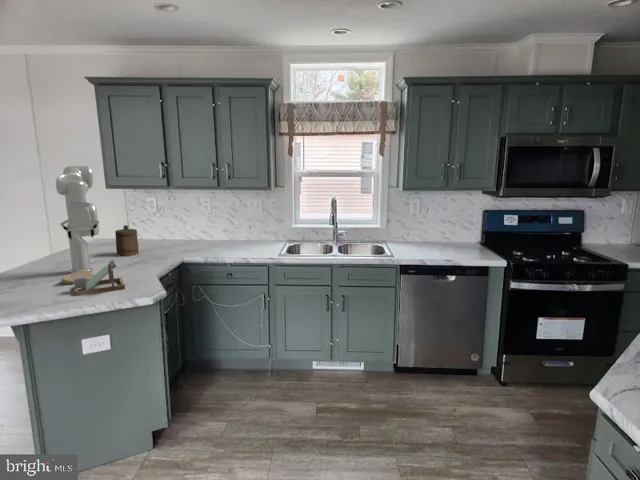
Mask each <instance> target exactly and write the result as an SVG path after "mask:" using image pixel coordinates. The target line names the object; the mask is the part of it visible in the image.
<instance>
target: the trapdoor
mask: <svg viewBox="0 0 640 480" xmlns="http://www.w3.org/2000/svg"><path fill="white" fill-rule="evenodd" d="M108 264H110V266H111V268H112V270H115V268H117V267H118V265H117V263H116V261H115V260H114V259H111V260H110V261H109V262H108ZM93 275H94V276H93V277H92V278H91V279H90V280H89V281H87V282H86V288H85V289H84V290H89V289H93V288H94V287H95V286H97V285H96V284H97V283H98V282H99V281H100V280H103V279H104V278H105V277H106V276H107V275H109V271H108V266H106V265H105V266H104V267H103V268H101V269H100V270H99V271H97V273H95V274H93Z"/></svg>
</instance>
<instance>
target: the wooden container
mask: <svg viewBox="0 0 640 480" xmlns="http://www.w3.org/2000/svg"><path fill="white" fill-rule="evenodd" d="M115 249H116V256H118V255H120V256H119V257H131V256H130V255H133V256H136V254H137V255H139V254H138V253H140V252H139V241H138V230H137V229H134V228H129V225H127V224H125V225H123V228H122V229H116V230H115Z"/></svg>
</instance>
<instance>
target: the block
mask: <svg viewBox="0 0 640 480" xmlns="http://www.w3.org/2000/svg"><path fill="white" fill-rule="evenodd" d="M74 280H75V288H74V290H75V289H77V290H78V289H84V288H86V278H85V276H81V277H74Z"/></svg>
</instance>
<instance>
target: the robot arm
mask: <svg viewBox="0 0 640 480" xmlns="http://www.w3.org/2000/svg"><path fill="white" fill-rule="evenodd" d="M62 173H63V174H62V175H60V176H58V177H57V178H56V179H55V188H56V192H57V193H58V194H59V195H61V196H64V199H65V206H66V214H67V219H66V220H64V221H62V222H61V223H60V227H62V229H63V230H64V231H66V235H67V238H68V243H69V251H70V252H69V253H70V261H71V269H69V274H73V273H76V272H78V271H80V270H87V271H89V272H91V273H92V272H93V270H94V268H93V267H91V265H90V255H89V247H88V246H89V245H88V241H86V240H85V239H84V238H83V237H90V238H94V236H97V235H99V234H100V225H99V223H100V221H99V217H98V210H97V206H96V205H95V204H94V203H90V202H87V197H86V194H87V193H88V192H89V189H91V188H92V187H93V185H94V183H93V182H94V174H93V170H92V168H91V167H90V166H86V165H69V166H66V167H65V168H64V169H63V172H62ZM65 224H66V225H65Z"/></svg>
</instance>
